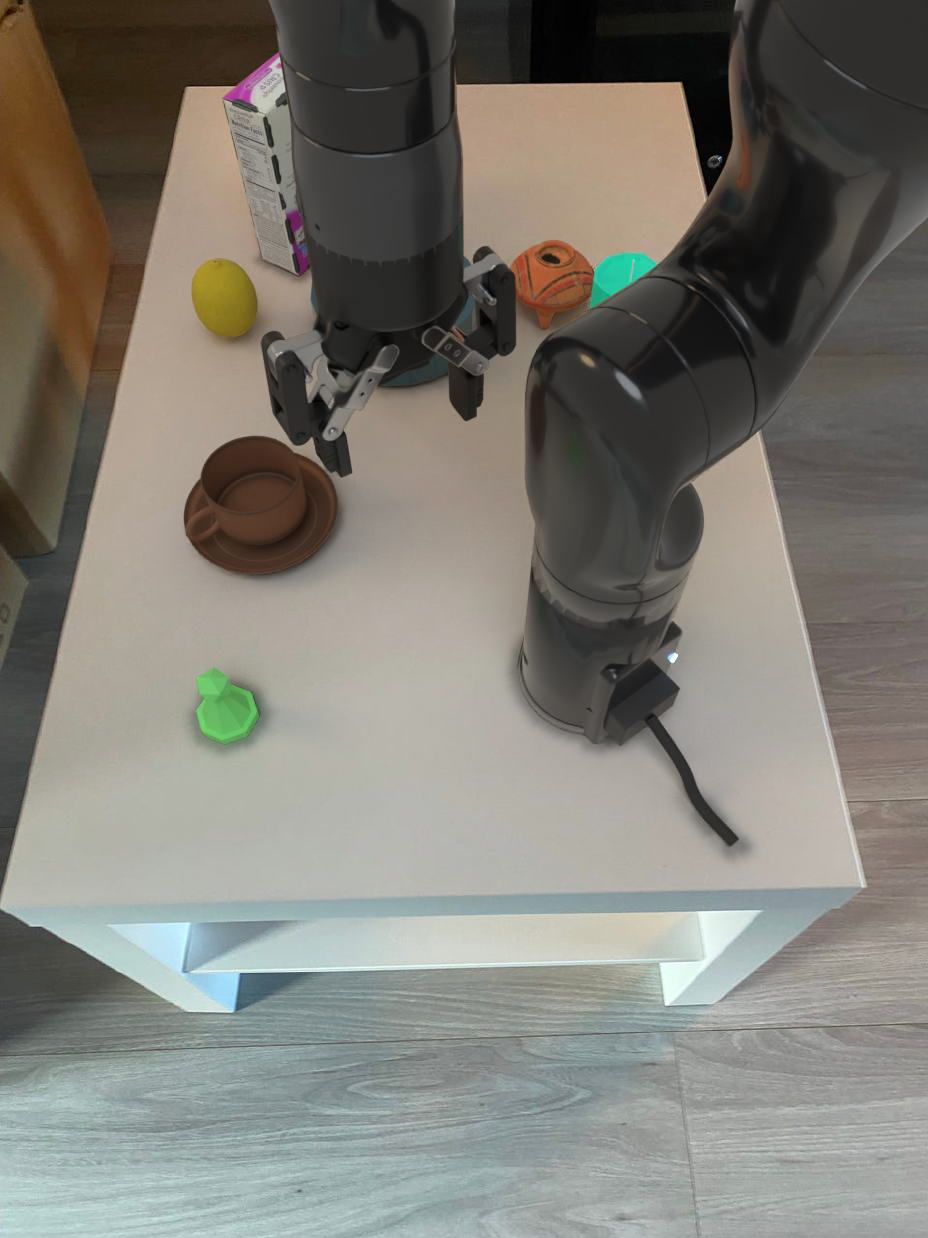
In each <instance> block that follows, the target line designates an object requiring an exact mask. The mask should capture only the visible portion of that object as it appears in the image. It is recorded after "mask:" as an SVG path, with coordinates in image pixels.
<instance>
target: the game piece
mask: <svg viewBox="0 0 928 1238" xmlns="http://www.w3.org/2000/svg"><path fill="white" fill-rule="evenodd" d="M196 684H197V692H198V695H200V696H201V697H202V698H203V700H202V701H201V703H200V704H199V706H198V708H197V710H195V713H196V716H197V720H198V723H199V726H200V730H201V733H202V735H203V736H204V737H206V738H209V739H211V740H213V741H216V742H218V743H220V744H223V745H228V744H230V743H233V742H236V741H238V740H241V739H244V738H247V737H249V735H250V734H251V732H252V731H253V729H254V727H255V725H256V723H257V722H258V721H259V718H260V714H259V711H258V708H257V705H256V704H257V703H256V701H255V698H254V696H253V693H252V692H251V691H249V690H246V689H244V688H241V687H238V686H236V685H234V684H232V683H231V684H230V677H229V676H228V675H226V674H225V673H223V672H222V671H221V670H219V669H218V668H216V667H215V666H213V667H211V668H210V669H207V670H206V671H205V672H203V673H202V674H200V675H198V676H197V677H196Z"/></svg>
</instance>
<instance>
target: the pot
mask: <svg viewBox="0 0 928 1238" xmlns="http://www.w3.org/2000/svg"><path fill="white" fill-rule="evenodd" d="M509 268H510V269H511V271H512V272H513V273H514V274H515V277H516V299H518V301H520V302H521V303H522V304H523V305H525V306H527V307H528V308H530V309H531V310H535V311H536V313H537V316H538V320H539V324H540V328H541V329H544V330H546V329H548V328H549V326H550V325H551V323H552V320H553V318H554V315H555V314H556V313H564V312H568V311H572V310H574V309H576V308H578V307H579V306H581V305H582V304H583V303H584V302H586V301H587V300H588V299H589V298H591V294H592V287H593V279H594V272H595V269H594V268H593V267H592V266H591V264H590V262H589V261H588V259H587V258H586V257H585V255H583V254H582V253H581V252H579V250H577V249H575V247H573V246H572V245H570V244H569V243H567V242H566V241H563V240H558V239H549V240H545V241H542V242H541V243H538V244H534V245H532V246H530V247H529V248H527V249H525V250H524V251H523V252H521V253H520V254H519V255H518V256H516V258H515V259H514V260H513V262H512V263H511V265H510V267H509Z"/></svg>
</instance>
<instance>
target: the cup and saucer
mask: <svg viewBox="0 0 928 1238" xmlns="http://www.w3.org/2000/svg"><path fill="white" fill-rule="evenodd" d="M338 504H339V502H338V494H337V489H336V486H335V484H334V482H333V480H332V479H331V477H330V475H329V474H328V473H327V471H326V470H325V469H324V468H323V467H322V466H321V465H320V464H318V462H316V461H314V460H313V459H311V458H309V457H308V456H305V455H303V454H300V453H297V452H294V451H293V450H292V448H291V447H290V446H288V444H286V443H284V442H282V441H281V440H279V439H276V438H274V437H270V436H266V435H247V436H242V437H236V438H234V439H231V440H229V441H227V442H225V443H223V444H222V445H220V446H219V447H217V448H216V449H215V450H213V452H212V453H211V454H210V455H209V456H208V457H207V458H206V460H205V462H204V464H203V466H202V468H201V471H200V477H199V479H198V480H197V481H196V482H195V484H194V485H193V487H192V488H191V490H190V492H189V493H188V496H187V498H186V501H185V505H184V510H183V526H184V533H185V536H186V538H187V539H188V540H189V542H190V544H191V545H192V547H193V548H194V549H195V550H196V551H197V553H198V554H199V555H201V556H202V557H203V558H204V559H205V560H207V561H208V562H209V563H210V564H212V565H214V566H216V567H218V568H221V569H223V570H226V571H229V572H234V573H236V574H244V575H262V574H263V575H264V574H269V573H275V572H279V571H282V570H285V569H288V568H290V567H292V566H295V565H297V564H299V563H300V562H302V561H304V560H306V559H307V558H309V557H310V556H311V555H313V554H314V553H315V552H316V551H317V550H318V549H319V548H321V546H322V545H323V544H324V543H325V541H326V540H327V539H328V537H329V535H330V534H331V532H332V530H333V528H334V525H335V522H336V520H337V514H338V507H339V505H338Z"/></svg>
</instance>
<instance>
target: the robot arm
mask: <svg viewBox="0 0 928 1238" xmlns="http://www.w3.org/2000/svg"><path fill="white" fill-rule="evenodd" d="M266 2H267V4H268V7H269V9H270V12H271V15H272V18H273V22H274V25H275V27H274V28H275V34H276V42H277V48H278V52H279V55H280V61H281V67H282V73H283V79H284V85H285V91H286V97H287V103H288V109H289V114H290V123H291V152H292V165H293V172H294V178H295V184H296V188H295V193H296V194H295V199H296V204H297V208H298V212H299V213H300V215H301V219H302V224H303V230H304V236H305V242H306V248H307V253H308V259H309V265H310V267H309V270H310V277H311V283H312V282H313V288H314V293H315V297H316V301H317V306H318V313H317V318H316V320H315V322H314V323H313V325H312V330H309V331H307V332H304V333H301V334H299V335H295V336H292V337H290V338H289V337H288V338H285V337H284V335H283V334H282V332H281V331H278V330H271V331H268V332H266V333H265V334H264V335H263V336H262V338H261V340H260V347H261V355H262V360H263V365H264V372H265V377H266V383H267V388H268V395H269V401H270V407H271V412H272V415H273V417H274V418H275V419H276V421H277V423H278V424H279V425H280V427H281V428H282V430H283V432H284V433H285V435H286V436H287V437H288V439H289V440H290V442H291V443H292V445H294V446H295V447H301V446H304V445H306V444H307V443H309V441H311V438H312V441H313V445H314V450H315V454H316V455H317V458H318V459H319V460H320V462H321V463H322V465H323V466H324V467H325V469H326V471H328V472H329V473H330V474H334V473H336V474H337V475H338V476H339V477H340V478H341V479H343V478H345V477H347V476H350V475H352V474H353V466H352V460H351V455H350V448H349V443H348V437H347V433H346V432H345V428H346V427H347V425H348V423H349V422H350V420H351V418H352V417H353V415H354V413H355V411H362V410H364V409H365V407H366V405H367V404H368V402H369V400H370V398H371V397H372V395H373V394H374V392H375V390H376V388H377V386H383V384H385V383H387V382H390V381H392V380H394V379H395V378H397V377H398V376H400V375H401V374H403V373H404V372H407V371H412V370H417V369H420V368H422V367H424V366H427V365H429V364H430V361H429V360H430V359H431V358H432V357H433V356H435V354H436V353H438V354H440V355H441V356H443V357H444V358H445V359H447V360H448V372H447V375H448V377H447V378H448V399H449V403H450V404H451V406H452V408H453V409H454V410H455V411H456V413H457V414H458V415H459V417H460V418H461V419H462V420H463V421H464V422H465V423H466V422H468V421H471V420H473V419H475V418H477V416H478V408H480V407H481V406H482V404H483V401H484V390H485V389H484V386H485V384H484V383H485V372H487V371H488V369H489V367H490V361H491V360H492V359H493V358H495V357H496V356H497V355H499V356H500V357H507V356H509V355H510V354H512V352H513V351H514V350H515V349H516V346H517V297H516V277H515V274H514V273H513V272H512V271H511V269H510V267H509V266H508V265H507V263H506V262H505V261H504V260H503V259H502V258H501V257H500V256H499V255H498V254H497V253H496V252H495V251H494V250H493V249H492V247H490V246H489V245H483V246H481V247H479V248H478V249H477V250H475V252H474V254H473V257H472V263H471V265H470V266H468V267H466V268H464V257H465V255H464V254H465V251H464V249H465V247H464V245H465V244H464V243H465V242H464V241H465V240H464V238H465V237H464V236H465V235H464V233H465V232H464V231H465V230H464V227H465V225H464V210H465V209H464V152H463V141H462V135H461V129H460V123H459V122H460V121H459V114H458V81H457V80H458V77H457V73H458V72H457V69H458V68H457V62H458V61H457V20H456V0H266ZM728 47H729V48H728V94H729V106H730V108H729V109H730V118H731V129H732V142H731V147H730V150H729V153H728V156H727V160H726V162H725V165H724V167H723V169H722V171H721V173H720V175H719V177H718V179H717V181H716V183H715V185H714V186H713V188H712V190H711V191H710V193H709V195H708V196H707V198H706V199H705V202H704V203H703V205H702V206H701V208H700V210H699V211H698V213H697V215H696V216H695V217H694V220H692V222H691V224H690V225H689V227H687V230H686V231H685V232H684V234H683V236H682V237H681V238H680V239H679V241H678V242H677V243H676V244H675V245H674V247H673V248H672V249H671V251H669V253H668V254H667V255H666V256H665V257H664V258H663V259H662V260H661V261H660V262H659V263H658V265H656V266H655V267H654V268H652V269H651V270H650V271H649V272H647V273H646V274H644V275H643V276H641V277H640V278H638V279H637V280H636V281H634V282H632V283H631V284H629V285H628V286H626V287H624V288H623V289H621V290H619V291H618V292H616V293H615V294H613V295H611V296H610V297H608V298H606V299H605V300H603V301H602V302H600V303H598V304H597V305H595V306H594V307H592V308H590V307H589V309H587V310H585V311H583V312H582V313H579V315H578V316H577V315H576V317H574V318H572V319H571V320H569V321H567V322H566V323H564V324H562V325H561V326H559V327H558V328H556V329H555V330H554V331H552V332H551V333H549V334H548V335H547V336H546V337H545V338H544V339H543V340H542V341H541V342H540V344H539V345H538V347H537V348H536V350H535V352H534V354H533V357H532V359H531V361H530V364H529V367H528V372H527V375H526V381H525V391H524V483H525V491H526V496H527V502H528V505H529V508H530V512H531V515H532V518H533V522H534V531H533V532H534V533H533V542H532V552H531V560H530V561H531V562H530V571H529V581H528V582H529V583H528V591H527V593H528V594H527V601H526V610H525V611H526V613H525V621H524V622H525V623H524V633H523V638H522V643H521V647H520V651H519V654H518V655H519V656H518V660H517V665H516V669H518V668H519V681H520V686H521V690H522V692H523V695H524V697H525V700H526V701H527V702H528V704H529V705H530V707H531V708H532V709H533V711H534V712H535V713H537V714H538V715H539V717H541V718H542V719H543V720H544V721H546V722H547V723H549V724H550V725H553V726H554V727H556V728H559V729H561V730H564V731H566V732H569V733H570V732H571V733H574V734H580V735H581V734H582V735H583V736H585V737H586V738H588V739H589V741H590V742H591V743H592V744H595V745H596V744H599V743H601V742H602V741H603V740H605V739H606V738H607V737H608V736H610V737H611V739H613V741H614V742H616V744H617V745H618V746H619V747H620V746H622V745H624V744H625V743H627V742H628V741H629V740H630V739H632V738H634V736H636V735H637V734H639V733H640V732H641V731H642V730H643V729H644V728H647V726H648V728H649V730H650V731H651V732H652V733H653V735H654V736H655V738H656V740H658V742H659V743H660V745H661V746H662V748H663V749H664V751H665V752H666V754H667V755H668V757H669V758H670V760H671V761H672V763H673V765H674V767H675V769H677V772H678V774H679V776H680V778H681V781H682V784H683V786H684V790H685V792H686V795H687V796H688V798H689V800H690V802H691V803H692V805H693V806H694V808H695V810H696V811H697V813H698V814H699V815H700V816H701V818H703V820H704V821H705V822H706V823H707V824H708V825H709V827H710V828H712V830H714V831H715V833H716V834H717V835H718V836H719V837H720V838H721V839H722V840H723V841H724V842H725V843H726V844H727V846H728V847H732V846H733V845H734V844H736V843H737V842H738V841H739V840H740V838H739V837H738V836H737V834H736V833H735V832H734V831H733V830H732V829H731V828H730V827H729V826H728V825H727V824H726V823H725V822H724V821H723V820H722V818H720V816H718V815H717V813H716V812H715V811H714V810H713V809H712V808H711V806H710V805H709V804H708V802H707V801H706V799H705V798H704V797H703V795H702V794H701V791H700V790H699V787H698V785H697V781H696V779H695V776H694V773H693V770H692V769H691V767H690V765H689V763H688V761H687V759H686V758H685V756H684V754H683V753H682V751H681V750H680V748H679V746H678V745H677V744H676V742H675V740H674V739H673V738H672V736H671V735H670V734H669V732H668V730H667V729H666V728H665V726H664V724H663V723H662V722H661V720H660V719H659V717H661V716H662V715H663V714H664V713H666V712H667V711H668V710H670V709H671V708H672V707H673V706H674V705H675V702H676V699H677V697H678V695H679V692H680V690H681V688H680V686H678V684H677V683H676V682H674V680H673V679H672V678H671V677H670V676H669V675H668V672H669V671H670V668H671V665H672V664H673V663H674V662H675V661H676V659H678V656H679V654H678V653H676V651H677V648H678V646H679V644H680V641H681V639H682V636H683V630H682V628H681V627H680V626H679V625H678V624H677V623H676V622H675V621H674V618H675V615H676V613H677V610H678V608H679V605H680V602H681V599H682V597H683V593H684V590H685V587H686V585H687V583H688V580H689V577H690V574H691V572H692V568H693V565H694V563H695V561H696V559H697V555H698V551H699V549H700V547H701V543H702V540H703V536H704V531H705V530H704V529H705V513H704V507H703V504H702V501H701V500H702V499H701V497H700V496H699V494H698V491H697V490H696V488H695V486H694V484H693V482H694V481H695V480H697V479H698V478H699V477H701V476H703V475H704V474H705V473H706V472H708V471H710V469H712V468H714V467H715V466H716V465H717V464H719V463H720V462H721V461H723V460H725V459H726V458H727V457H728V456H730V455H731V454H732V453H734V452H735V451H736V450H738V449H739V448H740V447H742V446H743V445H744V444H746V443H747V441H748V442H749V440H750V439H752V438H753V437H754V436H755V435H756V434H757V433H758V432H760V431H761V429H763V428H764V426H765V425H767V423H768V422H769V421H770V420H771V419H772V417H773V416H774V415H775V413H776V412H777V411H778V409H780V407H781V405H782V404H783V402H784V401H785V400H786V398H787V397H788V395H789V393H790V392H791V391H792V389H793V387H794V386H795V384H796V383H797V381H798V380H799V378H800V376H801V375H802V374H803V372H804V371H805V369H806V367H807V366H808V364H809V362H810V361H811V360H812V358H813V356H814V355H815V353H816V352H817V350H818V348H819V347H820V345H821V344H822V342H823V341H824V339H825V338H826V336H827V334H829V332H830V330H831V328H832V327H833V326H834V324H835V323H836V321H837V320H838V318H839V316H840V315H841V313H842V312H843V310H844V309H845V307H846V306H847V305H848V303H849V302H850V300H851V299H852V297H854V295H855V293H856V292H857V290H859V287H861V285H862V284H863V283H864V281H865V280H866V279H867V278H868V277H869V275H871V273H872V271H874V270H875V268H876V267H877V266H878V265H879V264H881V263H882V261H883V260H884V259H885V258H886V257H887V256H888V255H889V254H890V253H891V252H892V251H894V250H895V249H896V248H897V247H898V246H899V245H900V244H901V243H902V242H903V241H904V240H906V238H907V237H908V236H909V235H911V234H912V233H913V232H914V231H915V230H916V229H917V228H918V227H919V226H920V225H922V223H923V222H925V221H926V219H928V0H735V3H734V8H733V13H732V20H731V29H730V37H729V46H728ZM468 294H472V296H473V297H474V298H475V307H476V324H477V329H476V330H475V331H473V332H472V333H471V334H469V335H468V336H467V334H465V333H464V332H463V331H461V330H460V329H459V328H457V327H456V326H455V325H454V324H455V322H456V321H457V319H458V317H459V315H460V314H461V312H462V310H463V309H464V307H465V305H466V303H467V300H468ZM320 357H321V359H320V360H319V363H318V364H317V367H316V376H317V379H316V381H315V383H314V385H313V387H312V389H311V391H310V392H309V394H308V392H307V384H311V383H312V382H313V380H314V377H313V375H312V373H313V371H314V365H315V362H316V361H317V360H318V358H320ZM345 369H346V370H347V371H349V372H351V373H352V374H354V375H355V378H354V377H353V379H352V381H351V380H350V378H349V376H348V374H346V373H345ZM378 384H379V385H378ZM332 400H333V403H332V405H331V407H329V406H330V404H331V402H332Z"/></svg>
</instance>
